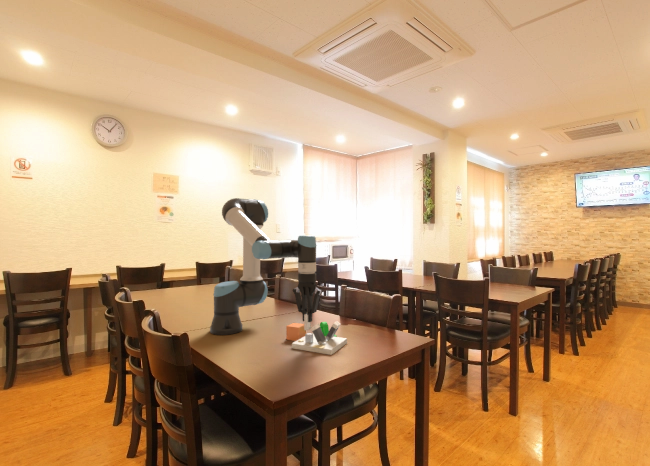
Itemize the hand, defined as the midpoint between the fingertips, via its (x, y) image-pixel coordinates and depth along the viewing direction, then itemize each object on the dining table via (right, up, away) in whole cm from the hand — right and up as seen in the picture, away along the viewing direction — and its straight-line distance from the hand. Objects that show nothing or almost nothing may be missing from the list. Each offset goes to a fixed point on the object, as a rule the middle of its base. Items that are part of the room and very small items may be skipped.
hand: (307, 329), depth 141 cm
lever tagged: (+6, -4, -3) cm, 8 cm away
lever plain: (+9, -4, +3) cm, 11 cm away
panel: (+5, -7, +2) cm, 9 cm away
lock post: (+1, -5, 0) cm, 5 cm away
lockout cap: (-6, -7, +12) cm, 15 cm away
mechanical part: (+7, -8, +15) cm, 19 cm away
